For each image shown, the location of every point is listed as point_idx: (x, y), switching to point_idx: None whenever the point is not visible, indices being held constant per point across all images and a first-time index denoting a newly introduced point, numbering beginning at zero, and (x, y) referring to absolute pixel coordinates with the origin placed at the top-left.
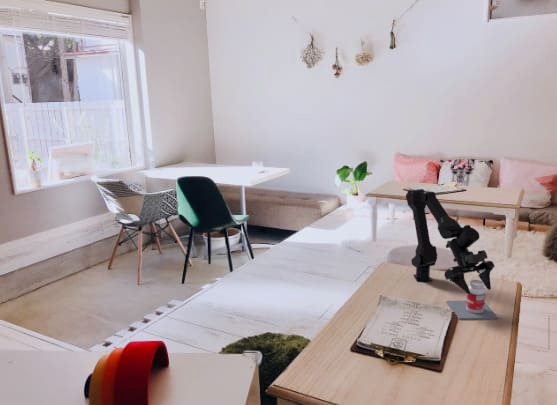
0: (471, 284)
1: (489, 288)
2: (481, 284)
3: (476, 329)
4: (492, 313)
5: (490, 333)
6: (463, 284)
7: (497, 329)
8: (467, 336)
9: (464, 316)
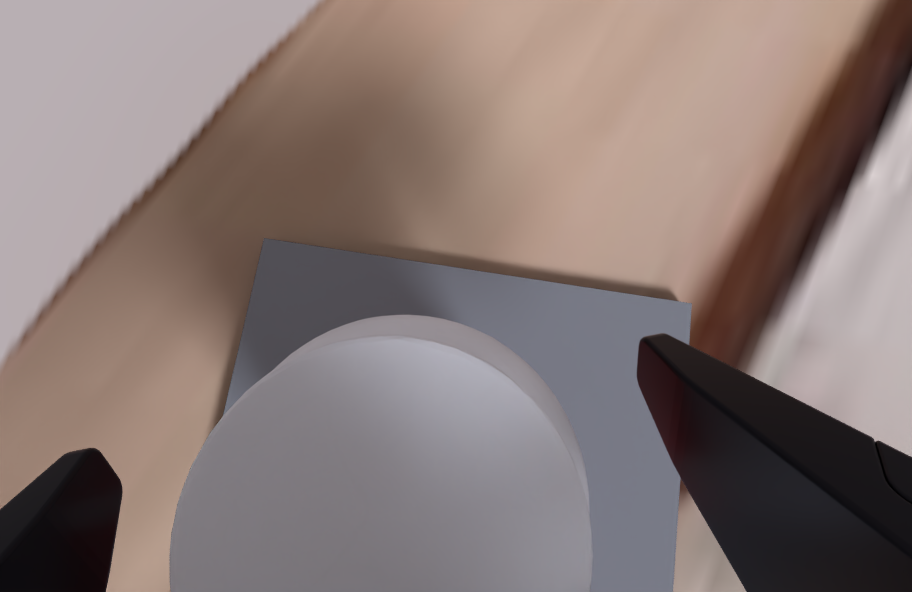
0: (582, 503)
1: (94, 467)
2: (340, 359)
3: (597, 103)
4: (268, 338)
5: (507, 21)
6: (884, 463)
7: (404, 69)
8: (733, 14)
9: (616, 329)
